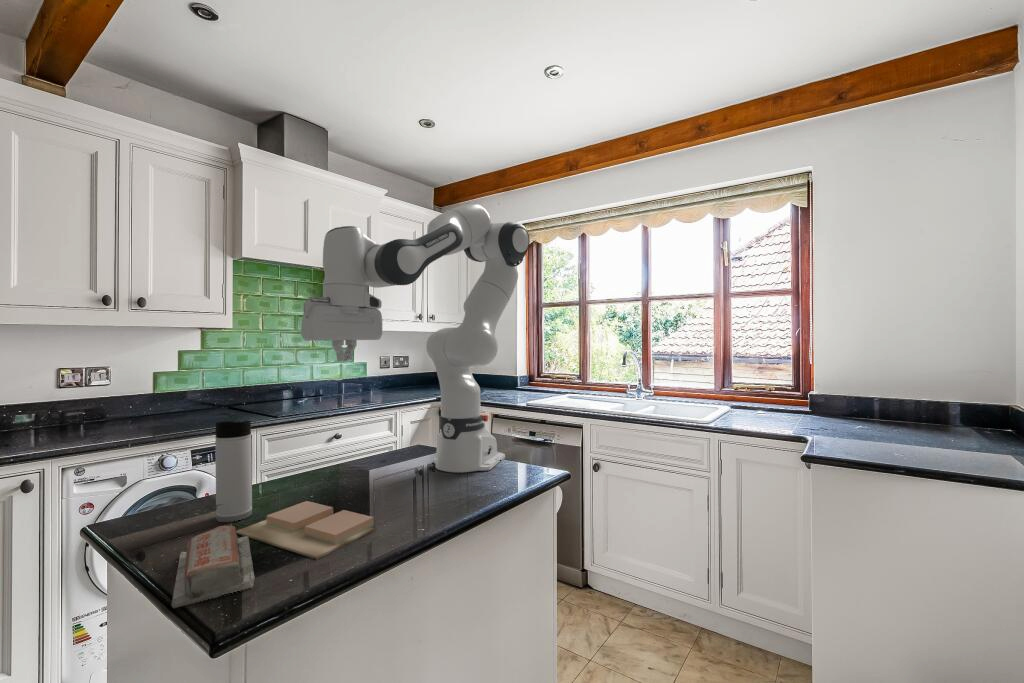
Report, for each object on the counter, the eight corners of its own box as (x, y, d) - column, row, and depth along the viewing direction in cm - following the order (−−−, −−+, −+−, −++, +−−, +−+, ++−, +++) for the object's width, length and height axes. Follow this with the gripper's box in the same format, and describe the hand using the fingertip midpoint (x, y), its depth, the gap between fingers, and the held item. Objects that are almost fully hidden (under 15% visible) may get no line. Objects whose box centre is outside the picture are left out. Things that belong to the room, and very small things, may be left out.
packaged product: (255, 557, 68) (170, 577, 62) (255, 590, 68) (171, 612, 62) (248, 517, 83) (179, 530, 78) (248, 544, 83) (180, 559, 78)
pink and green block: (343, 509, 93) (304, 526, 85) (373, 517, 89) (335, 535, 81) (343, 517, 93) (304, 535, 85) (373, 525, 89) (335, 544, 81)
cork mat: (297, 509, 98) (297, 508, 98) (374, 530, 88) (374, 527, 88) (235, 533, 87) (235, 531, 87) (316, 559, 76) (316, 556, 76)
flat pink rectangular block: (306, 500, 98) (266, 515, 90) (333, 507, 94) (293, 523, 86) (306, 508, 98) (266, 523, 90) (333, 515, 94) (293, 531, 86)
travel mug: (209, 524, 91) (208, 422, 90) (224, 512, 97) (223, 416, 97) (243, 522, 92) (242, 421, 91) (256, 510, 98) (255, 415, 98)
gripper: (314, 294, 93) (315, 363, 93) (386, 301, 111) (387, 359, 111) (293, 296, 96) (294, 363, 96) (367, 302, 114) (367, 358, 114)
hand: (344, 360), depth 104 cm, fingers closed
